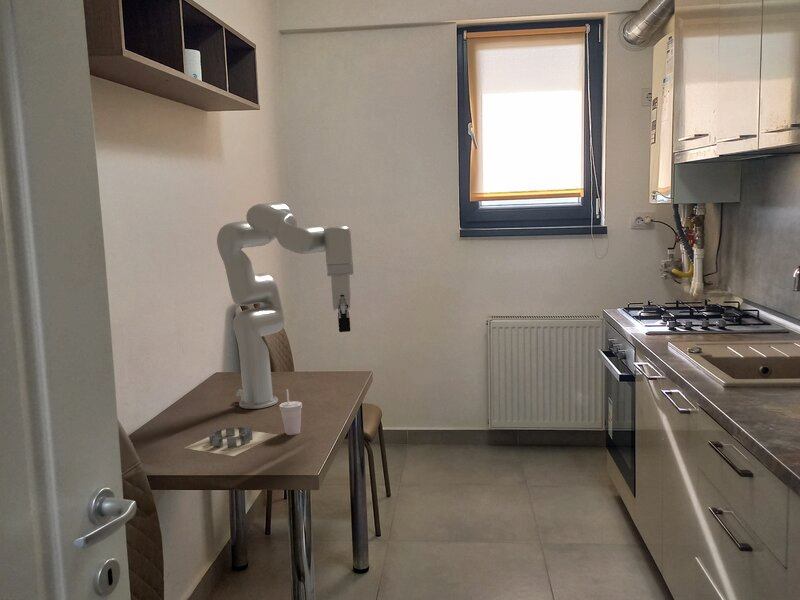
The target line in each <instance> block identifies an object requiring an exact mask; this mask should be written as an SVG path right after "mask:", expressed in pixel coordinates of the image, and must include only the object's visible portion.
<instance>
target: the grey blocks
mask: <svg viewBox="0 0 800 600" xmlns="http://www.w3.org/2000/svg"><path fill="white" fill-rule="evenodd" d="M234 429H235V426H234V425H231V426H225V428H224V430H226V437H229V436H235V431H234ZM237 429H239V436H240V441H241V445H245V444H247V443H249V442H250V440H253V437H252V431H253V430H252V428H249V426H245V425H239V426H238V428H237ZM222 431H223V430H222V429H220V428H218V429H214V430H213V431H211V433H209V434H208V437H209V439H210V446H211V445H213V447H214V448H222V447H223V440H222ZM227 446H228V448H233V447H237V443H236V437H230V438H227Z"/></svg>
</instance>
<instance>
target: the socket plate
mask: <svg viewBox="0 0 800 600" xmlns="http://www.w3.org/2000/svg"><path fill="white" fill-rule="evenodd" d="M221 431H222V440H223V447H222V448H214V447H213V445H211V446H210V439H209V436H208V437H205V438H203V439H201V440H199V441H196V442H194V443H191V444H189V445H188V446H185V447H184V449H186V450H190V451H191V450H192V451H198V452H206V453H210V454H212V453H213V454H216V455H217V454H218V455H223V456H229V457H236V456H237V455H239V454H241V453H243V452H246V451H247V450H249V449H252V448H254V447H256V446H258V445H259V444H262V443H265V442H266V441H268V440H270V439H272V438H274V437H277V436H278V434H277V433H276V434H275V433H270V432H263V431H261V432H260V431H256V430H255V431H254V430H252V437H253V440H250V442H249V443H247V444H245V445H241V441H240V436H239V429H238V428H234V431H235V436H229V437H226V430H225V429H224V430H221ZM230 437H236V443H237V447H233V448H228V446H227V438H230Z"/></svg>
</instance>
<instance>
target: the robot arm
mask: <svg viewBox="0 0 800 600" xmlns="http://www.w3.org/2000/svg"><path fill="white" fill-rule="evenodd" d="M245 216H246V219H245V220H242V221H241V220H240V221H233V222H229V223H227V224H225V225H223V226H221V227H220V229H219V231H218V233H217V237H216V245H217V251H218V252H219V256H220V258H221V260H222V262H223V264H224V269H225V273H226V274H225V275H226V277H227V282H228V286H229V291H230V295H231V299H232V301H233V302H234V304H235V305H237V306H242V307H243V306H252V305H255V304H259V307H254V308H249V309H245V310H242V311H240V312H238V313H237V314H236V315H235V316H234V318H233V320H232V321H233V322H232V325H233V331H234V335H235V337H236V342H237V343H236V344H237V348H238V354H239V355H238V356H239V357H238V358H239V365H240V375H241V377H240V378H241V387H242V389H241V388H239V389H237V392H235V396H236V397H238V398H239V397H240V398H241V399H240V401H239V402H238V403H239V404H238V405H239V407H240V408H242V409H249V410H255V409H256V410H257V409H264V408H268V407H272V406H274V405H276V404H277V403H278V402H279V398H278V397H277V396H276V395H273V393H274V392H273V385H272V384H273V383H272V374H271V372H272V371H271V361H270V360H271V359H270V352H269V347H268V346H267V344H266V342H265V341H264V340H263V338H262V337H264V336H265V337H266V336H269V335H273V334H275V333H279V332H280V331H282V330H283V329H284V326H285V314H284V309H283V304H282V299H281V295H280V290H279V287H278V284H277V281H276V280H275V278H273V277H272V276H271V275H270V274H268V273H257V274H255V273H254V270H253V265H252V261H251V258H249V256H248V255H247V254H246V253H245V252H244V251H243V250H242V249H243V248H244V249H245V248H246V249H247V248H253V247H263V246H266V245H268V244H270V243H272V241H274V240H275V239H277V242H278V243H279V245H280V247H282V248H284V249H285V250H288V251H290V252H293V253H296V254H299V255H309V254H315V253H323V252H325V263H326V276H327V277H331V278H330V282H331V283H330V285H331V287H330V288H331V297H332V298H331V300H332V311H336V310H338V312H337V320H338V323H337V324H338V331H339V333H346V332H351V320H350V313H349V310H350V309H351V302H352V296H351V295H352V294H351V281H350V280H351V279H350V276H351V275H354V264H353V250H352V239H351V238H352V237H351V234H352V233H351V229H350V228H349V227H348V226H345V225H340V226H331V225H317V226H316V225H315V226H310V227H309V226H307V227H299V226H298V222H297V221H298V220H297V218H296V217H295V215H293V214H292V212H291V209H290V207H288V206H287V204H285V203H282V202H269V203H268V202H266V203H258V204H254V205H252V206H251V207H250V208H249V209H248V210H247V212H246V215H245Z"/></svg>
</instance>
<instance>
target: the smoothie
mask: <svg viewBox="0 0 800 600" xmlns="http://www.w3.org/2000/svg"><path fill="white" fill-rule="evenodd" d="M286 400H287V401H284V402H282V403H280V404H279V405H278V406H279V408H278V409H279V410H280V413H281V418H282V422H283V427H284V431H285V434H286V435H288V436H295V435H298V434H300V433H301V426H302V425H301V423H302V408H303V403H302V402H301V401H298V400H297V401H296V400H293V401H291V400H290V394H289V389H288V388H287V389H286Z"/></svg>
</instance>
